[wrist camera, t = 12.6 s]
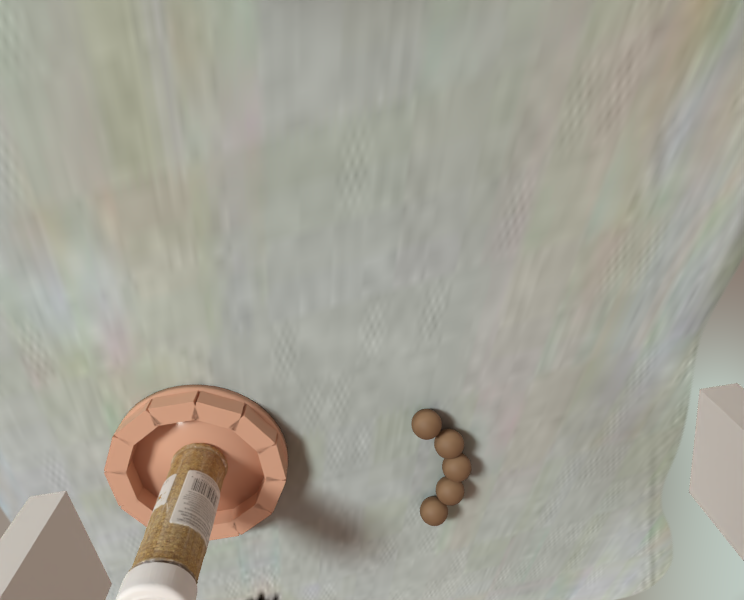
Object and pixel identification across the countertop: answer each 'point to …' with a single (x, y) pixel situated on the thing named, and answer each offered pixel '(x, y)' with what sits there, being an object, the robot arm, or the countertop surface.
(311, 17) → the countertop surface
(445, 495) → the bead string
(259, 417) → the saucer
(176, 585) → the sprinkles bottle
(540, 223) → the countertop surface
